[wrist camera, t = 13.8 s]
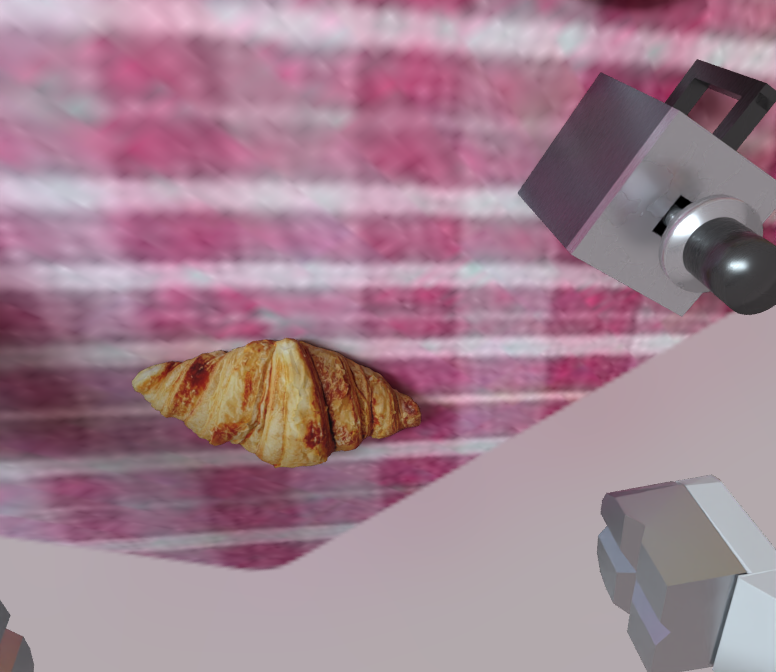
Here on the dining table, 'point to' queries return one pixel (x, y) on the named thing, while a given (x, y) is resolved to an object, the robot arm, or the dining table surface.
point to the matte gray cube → (646, 173)
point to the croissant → (279, 400)
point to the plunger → (720, 253)
